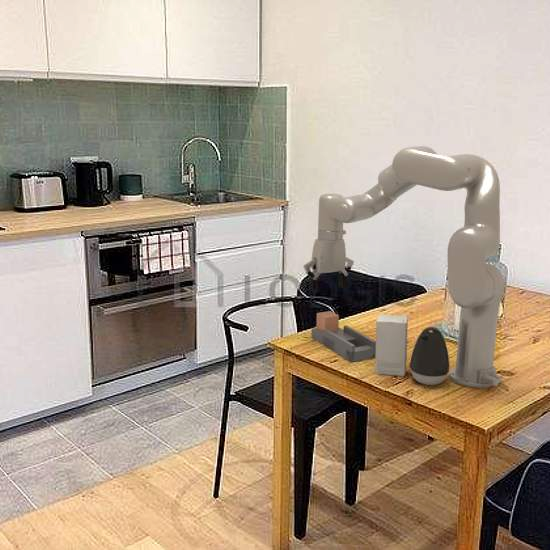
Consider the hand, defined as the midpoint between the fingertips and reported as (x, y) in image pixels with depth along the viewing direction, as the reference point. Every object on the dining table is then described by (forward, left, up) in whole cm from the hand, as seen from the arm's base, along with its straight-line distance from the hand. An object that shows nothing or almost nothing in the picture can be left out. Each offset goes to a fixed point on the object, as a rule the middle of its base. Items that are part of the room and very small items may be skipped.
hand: (328, 289), depth 199 cm
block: (0, 0, -13) cm, 13 cm away
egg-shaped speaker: (-40, -7, -16) cm, 44 cm away
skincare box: (-30, -2, -16) cm, 34 cm away
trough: (-9, 0, -16) cm, 19 cm away
